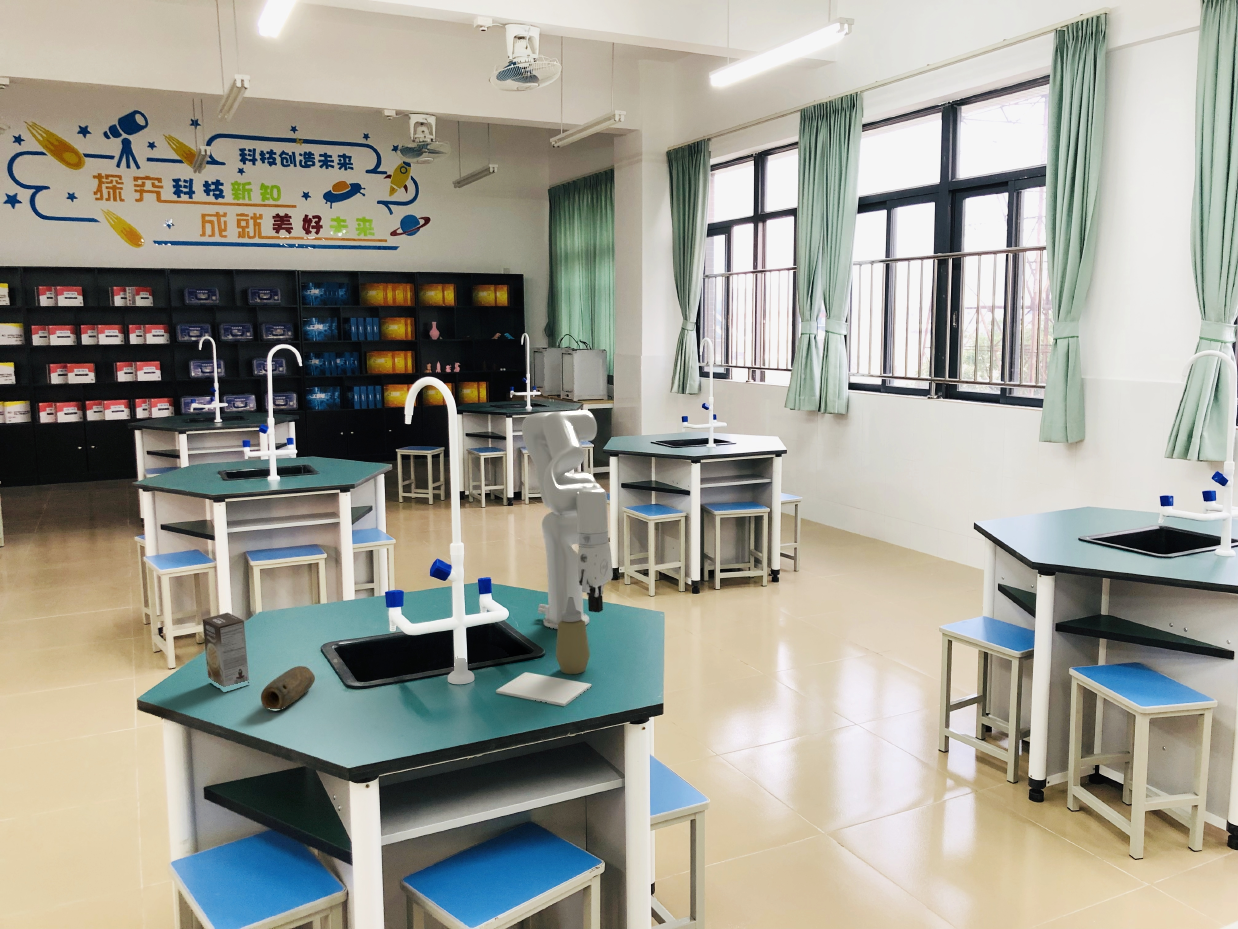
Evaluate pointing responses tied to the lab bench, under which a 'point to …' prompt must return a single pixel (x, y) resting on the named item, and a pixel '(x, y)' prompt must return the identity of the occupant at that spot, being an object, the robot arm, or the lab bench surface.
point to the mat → (544, 688)
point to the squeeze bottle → (572, 641)
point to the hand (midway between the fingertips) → (595, 611)
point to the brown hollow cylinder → (287, 687)
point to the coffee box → (225, 649)
